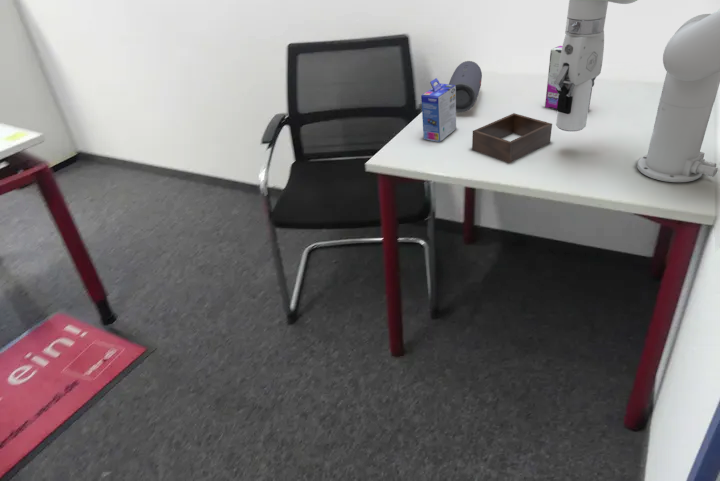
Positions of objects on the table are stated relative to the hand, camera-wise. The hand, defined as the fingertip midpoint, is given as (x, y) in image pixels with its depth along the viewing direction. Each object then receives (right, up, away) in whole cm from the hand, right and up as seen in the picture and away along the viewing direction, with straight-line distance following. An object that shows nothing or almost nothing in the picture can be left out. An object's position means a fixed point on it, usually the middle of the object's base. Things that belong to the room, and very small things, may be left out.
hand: (573, 107), depth 122 cm
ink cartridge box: (-27, -2, +22) cm, 35 cm away
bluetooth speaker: (-17, +11, +40) cm, 45 cm away
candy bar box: (+10, +7, +29) cm, 31 cm away
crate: (-11, -7, +11) cm, 17 cm away
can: (0, -4, +3) cm, 5 cm away
